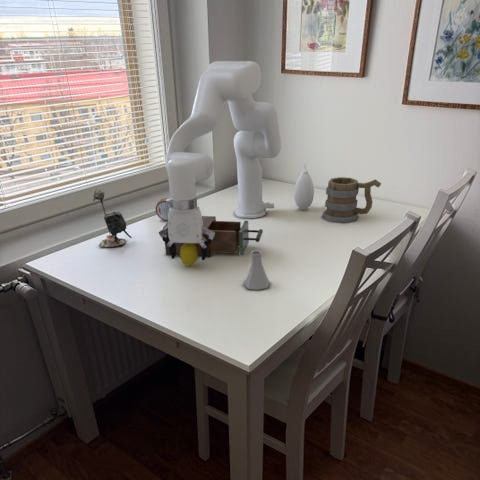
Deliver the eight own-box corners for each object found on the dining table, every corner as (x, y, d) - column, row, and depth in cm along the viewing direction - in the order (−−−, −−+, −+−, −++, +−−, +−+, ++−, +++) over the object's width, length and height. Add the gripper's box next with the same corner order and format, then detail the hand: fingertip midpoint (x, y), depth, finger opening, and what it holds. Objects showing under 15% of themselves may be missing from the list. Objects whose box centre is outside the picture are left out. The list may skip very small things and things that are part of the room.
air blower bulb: (315, 207, 191) (318, 162, 181) (309, 213, 185) (311, 166, 175) (297, 205, 194) (298, 160, 184) (291, 211, 188) (292, 165, 178)
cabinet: (217, 243, 161) (215, 216, 156) (209, 257, 151) (207, 229, 146) (176, 241, 163) (174, 215, 158) (166, 255, 153) (162, 227, 148)
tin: (195, 218, 183) (193, 197, 179) (193, 221, 180) (191, 200, 176) (158, 218, 185) (155, 197, 180) (156, 221, 182) (153, 200, 178)
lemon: (201, 263, 146) (199, 239, 142) (194, 270, 142) (192, 246, 138) (185, 261, 148) (183, 238, 144) (178, 268, 144) (175, 244, 139)
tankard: (320, 220, 177) (322, 181, 169) (327, 210, 187) (330, 172, 179) (373, 226, 170) (378, 185, 162) (378, 215, 180) (383, 176, 172)
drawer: (263, 243, 157) (263, 221, 153) (259, 256, 148) (258, 232, 144) (210, 241, 160) (208, 219, 156) (202, 253, 151) (200, 230, 147)
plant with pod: (125, 249, 158) (116, 191, 148) (95, 247, 161) (83, 190, 150) (135, 240, 165) (126, 184, 155) (106, 238, 167) (95, 183, 157)
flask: (243, 280, 136) (242, 248, 130) (267, 278, 136) (267, 246, 131) (245, 291, 129) (244, 258, 124) (271, 289, 130) (271, 256, 125)
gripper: (151, 206, 133) (158, 261, 142) (210, 208, 130) (213, 264, 139) (159, 199, 139) (166, 252, 148) (215, 200, 136) (218, 254, 145)
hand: (189, 258), depth 143 cm, fingers open, 9 cm apart
